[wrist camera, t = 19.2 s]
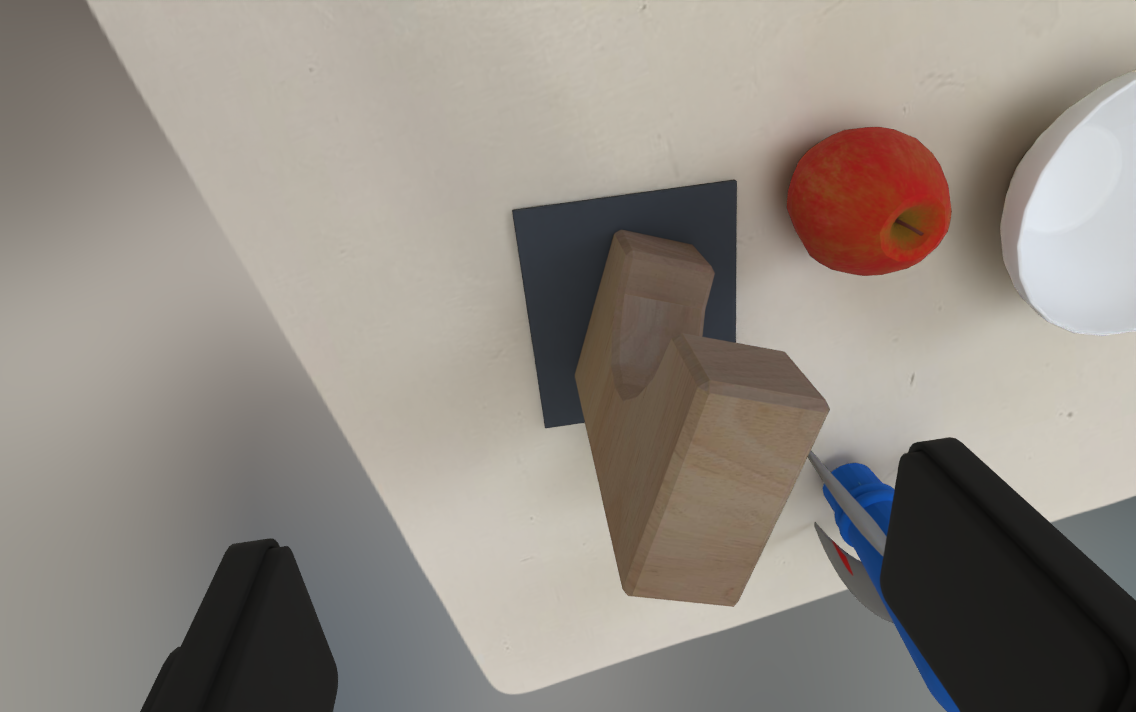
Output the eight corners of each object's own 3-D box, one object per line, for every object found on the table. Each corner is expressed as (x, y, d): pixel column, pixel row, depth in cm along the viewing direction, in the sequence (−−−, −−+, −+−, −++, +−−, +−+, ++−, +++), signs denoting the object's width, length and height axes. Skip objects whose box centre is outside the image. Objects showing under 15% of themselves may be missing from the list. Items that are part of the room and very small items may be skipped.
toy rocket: (787, 430, 51) (1011, 750, 29) (911, 391, 50) (1235, 687, 28) (807, 531, 56) (1011, 870, 34) (920, 496, 55) (1201, 818, 33)
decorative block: (615, 224, 42) (704, 380, 24) (699, 244, 43) (842, 407, 25) (569, 376, 47) (616, 600, 29) (646, 391, 48) (737, 614, 30)
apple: (737, 193, 42) (807, 246, 33) (835, 84, 40) (942, 107, 30) (820, 269, 45) (906, 337, 36) (916, 171, 43) (1037, 217, 33)
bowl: (1234, 133, 44) (1357, 154, 37) (1048, 330, 49) (1128, 376, 43) (1082, -10, 39) (1194, -14, 33) (894, 226, 44) (960, 261, 38)
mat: (545, 425, 49) (545, 428, 48) (512, 209, 41) (512, 211, 41) (733, 397, 49) (735, 400, 49) (734, 179, 42) (736, 181, 41)
